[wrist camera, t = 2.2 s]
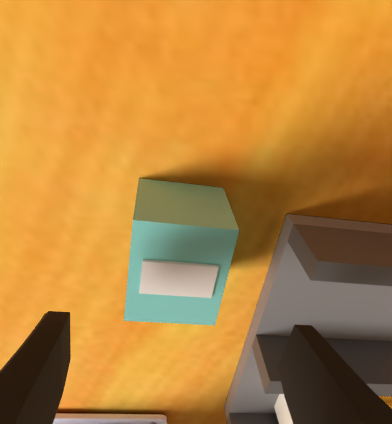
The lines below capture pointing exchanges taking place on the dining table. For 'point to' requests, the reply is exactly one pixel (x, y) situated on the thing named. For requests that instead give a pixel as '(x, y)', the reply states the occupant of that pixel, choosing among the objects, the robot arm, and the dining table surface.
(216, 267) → the teal box
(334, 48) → the dining table surface
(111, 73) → the dining table surface
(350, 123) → the dining table surface
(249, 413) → the gray shelf unit
